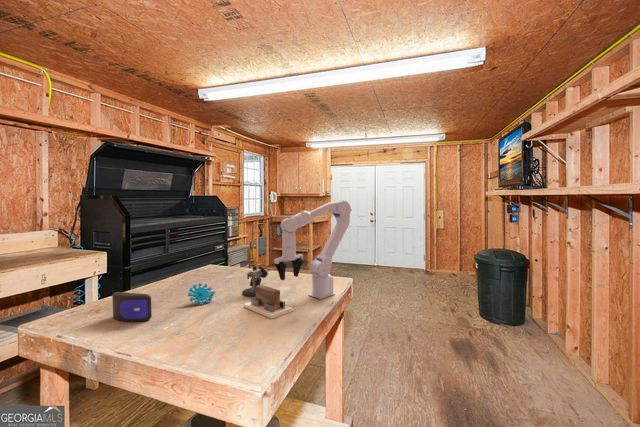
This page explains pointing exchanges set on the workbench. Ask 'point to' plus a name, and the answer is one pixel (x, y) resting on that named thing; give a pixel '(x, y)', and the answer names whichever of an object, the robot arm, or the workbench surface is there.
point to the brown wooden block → (268, 296)
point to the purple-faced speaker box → (131, 307)
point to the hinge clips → (267, 304)
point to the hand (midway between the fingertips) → (289, 278)
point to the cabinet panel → (268, 313)
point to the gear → (201, 294)
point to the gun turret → (255, 280)
